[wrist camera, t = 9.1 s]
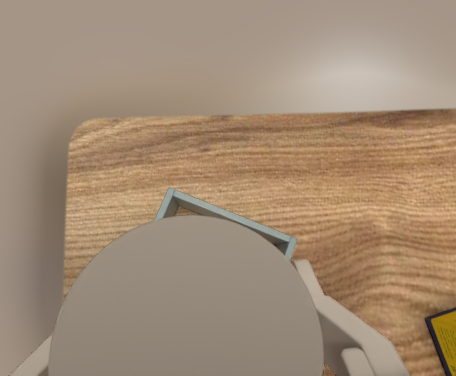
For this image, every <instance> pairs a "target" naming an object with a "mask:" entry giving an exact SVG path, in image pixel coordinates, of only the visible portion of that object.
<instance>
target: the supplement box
mask: <svg viewBox="0 0 456 376" xmlns="http://www.w3.org/2000/svg"><path fill="white" fill-rule="evenodd" d="M426 321H427V324H428V327H429V330H430V332H431V334H432V337H433V340H434V342H435V345H436V347H437V350H438V353H439V355H440V357H441V360H442V363H443V365H444V368H445V370H446V373H447V375H448V376H456V308H454V309H451V310H448V311H445V312H442V313H439V314H437V315H434V316H432V317H428V318H426Z"/></svg>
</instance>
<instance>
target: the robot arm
mask: <svg viewBox="0 0 456 376" xmlns="http://www.w3.org/2000/svg"><path fill="white" fill-rule="evenodd" d="M290 262H291V264H292V265H293V266H294V267H295V269H296V270H297V272H298V273H299V275H300V276H301V278H302V279H303V281H304V283H305V284H306V286H307V288H308V290H309V293H310V295H311V297H312V299H313V302H314V305H315V307H316V311H317V314H318V317H319V322H320V327H321V332H322V339H323V352H324V363H325V364H326V365H327V366H328V367H329V368H330V369H331V370H332V371H333V372H334V373H335V376H411V375H410V373H409V372H408V370H407V368H406V366H405V365H404V363H403V361H402V359H401V358H400V356H399V354H398V352H397V351H396V349H395V347H394V345H393V343H392V342H391V341H390V340H388V339H387V338H386V337H384V336H383V335H382V334H380V333H379V332H378V331H376V330H375V329H373V328H372V327H371V326H369V325H368V324H367V323H365V322H364V321H363V320H361V319H360V318H358V317H357V316H356V315H354V314H353V313H352V312H350V311H349V310H348V309H346V308H345V307H343V306H342V305H341V304H339V303H338V302H337V301H335V300H334V299H333V298H331V297H330V296H324V294H323V291H322V289H321V287H320V285H319V283H318V280H317V278H316V276H315V274H314V271H313V269H312V267H311V265H310V262H309V261H308V260H307V259H301V260H293V261H290ZM52 334H53V333H52ZM52 334H51V335H50V336H49V337H48V338H47V339H46V340H45V341H44V342H43V343H42V344H41V345H40V346H39V347H38V348H37V349H36V350H34V351H33V352H32V353H31V355H29V356H28V357H27V358H26V359H25V360H24V361H23V362H22V363H21V364H20V365H19V366H18V367H17V368H16V369H15V370H14V371H13V372H12V373H11V374H10V375H9V376H49V373H48V366H49V352H50V344H51V339H52Z"/></svg>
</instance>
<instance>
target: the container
mask: <svg viewBox="0 0 456 376" xmlns="http://www.w3.org/2000/svg"><path fill="white" fill-rule="evenodd" d="M323 365H324V352H323V339H322V332H321V327H320V322H319V317H318V314H317V311H316V307H315V305H314V302H313V299H312V297H311V295H310V293H309V290H308V288H307V286H306V284H305V283H304V281H303V279H302V278H301V276H300V275H299V273H298V272H297V270H296V269H295V267H294V266H293V265H292V264H291V262H290V261H289V260H288V259H287V258H286V257H285V256H284V254H283V253H282V252H281V251H280V250H279V249H277V248H276V247H275V246H274V245H273V244H272V243H270V242H269V241H268V240H266V239H265V238H263V237H262V236H261V235H259V234H257V233H256V232H254V231H252V230H250V229H248V228H247V227H244V226H242V225H240V224H237V223H234V222H231V221H228V220H225V219H221V218H217V217H211V216H203V215H181V216H173V217H167V218H162V219H158V220H155V221H151V222H148V223H146V224H143V225H141V226H138V227H136V228H134V229H132V230H130V231H128V232H126V233H125V234H123V235H121V236H120V237H118V238H117V239H115V240H114V241H112V242H111V243H110V244H109V245H107V246H106V247H105V248H103V249H102V250H101V251H100V252H99V253H98V254H97V255H96V256H95V257H94V258H93V259H92V260H91V261H90V262H89V263H88V264H87V266H86V267H85V268H84V269H83V271H82V272H81V273H80V274H79V276H78V277H77V279H76V280H75V282H74V283H73V285H72V286H71V288H70V290H69V292H68V293H67V295H66V297H65V299H64V301H63V304H62V306H61V308H60V311H59V314H58V316H57V319H56V323H55V326H54V330H53V334H52V339H51V344H50V352H49V366H48V373H49V376H323Z"/></svg>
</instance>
